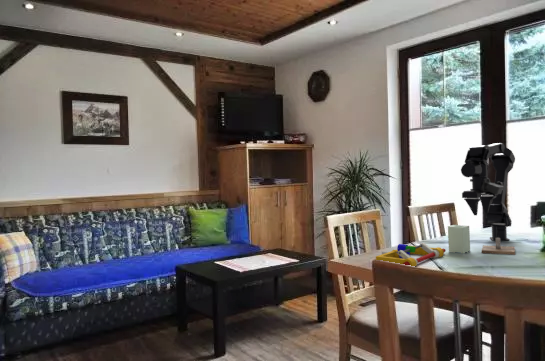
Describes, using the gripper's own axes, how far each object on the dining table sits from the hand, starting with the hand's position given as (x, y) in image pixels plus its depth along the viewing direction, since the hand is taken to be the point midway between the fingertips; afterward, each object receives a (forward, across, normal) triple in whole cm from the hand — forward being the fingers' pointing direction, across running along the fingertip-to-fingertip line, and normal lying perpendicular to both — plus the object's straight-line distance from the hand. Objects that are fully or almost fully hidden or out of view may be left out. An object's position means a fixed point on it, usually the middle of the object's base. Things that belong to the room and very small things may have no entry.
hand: (481, 214), depth 174 cm
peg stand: (+13, -7, -10) cm, 18 cm away
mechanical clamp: (+14, -40, +8) cm, 43 cm away
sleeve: (+13, -17, +1) cm, 21 cm away
